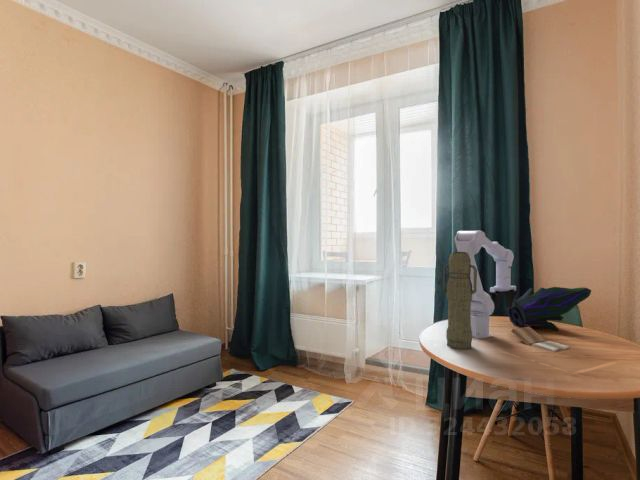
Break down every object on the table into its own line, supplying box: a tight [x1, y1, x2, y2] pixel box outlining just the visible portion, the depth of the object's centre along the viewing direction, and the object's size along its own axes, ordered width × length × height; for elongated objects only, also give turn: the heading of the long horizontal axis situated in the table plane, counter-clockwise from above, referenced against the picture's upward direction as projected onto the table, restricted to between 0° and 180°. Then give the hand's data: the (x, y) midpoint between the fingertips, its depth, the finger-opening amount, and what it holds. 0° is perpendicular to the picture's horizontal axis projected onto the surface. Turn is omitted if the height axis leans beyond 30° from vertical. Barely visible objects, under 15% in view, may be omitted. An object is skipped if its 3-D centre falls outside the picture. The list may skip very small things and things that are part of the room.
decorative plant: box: [505, 286, 592, 332], centre depth 167 cm, size 21×26×30 cm
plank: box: [510, 326, 547, 346], centre depth 143 cm, size 10×8×1 cm
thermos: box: [442, 251, 478, 351], centre depth 138 cm, size 9×12×35 cm
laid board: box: [530, 340, 571, 353], centre depth 136 cm, size 10×8×1 cm
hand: (503, 307), depth 162 cm, fingers open, 7 cm apart
